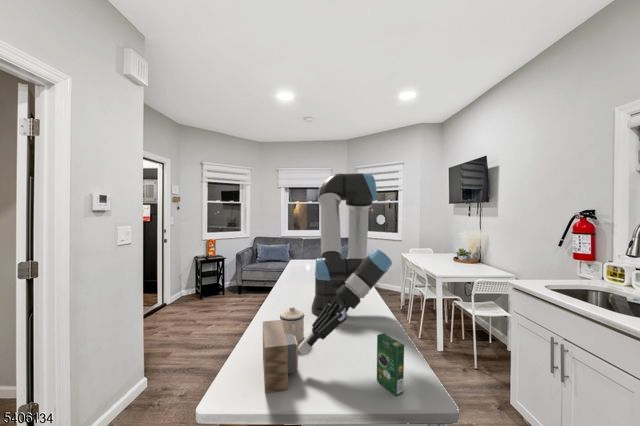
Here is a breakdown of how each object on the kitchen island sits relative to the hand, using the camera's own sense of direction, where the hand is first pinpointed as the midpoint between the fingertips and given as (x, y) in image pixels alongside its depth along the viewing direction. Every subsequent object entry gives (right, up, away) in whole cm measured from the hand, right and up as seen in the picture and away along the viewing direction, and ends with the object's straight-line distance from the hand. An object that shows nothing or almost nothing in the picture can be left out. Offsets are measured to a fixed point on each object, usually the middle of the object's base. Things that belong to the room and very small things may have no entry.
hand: (300, 351), depth 86 cm
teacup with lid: (-4, -6, +20) cm, 21 cm away
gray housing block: (-5, -4, -1) cm, 7 cm away
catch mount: (-8, -6, -1) cm, 10 cm away
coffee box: (+25, -6, -8) cm, 27 cm away
